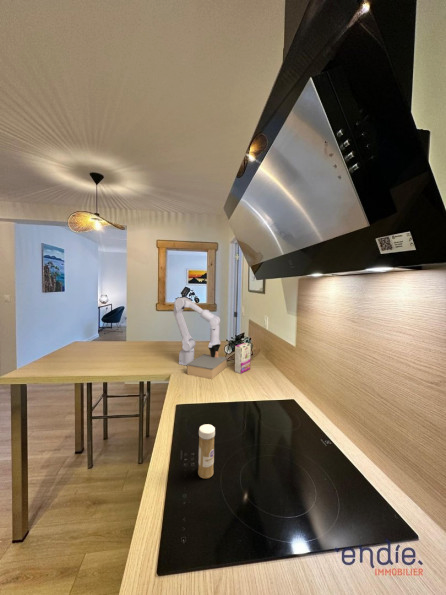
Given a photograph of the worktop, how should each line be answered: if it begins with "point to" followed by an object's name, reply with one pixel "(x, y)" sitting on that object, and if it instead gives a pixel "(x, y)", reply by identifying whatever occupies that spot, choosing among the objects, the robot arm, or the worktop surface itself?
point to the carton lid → (207, 361)
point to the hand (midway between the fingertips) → (214, 356)
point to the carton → (206, 370)
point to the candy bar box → (242, 357)
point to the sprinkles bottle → (206, 450)
